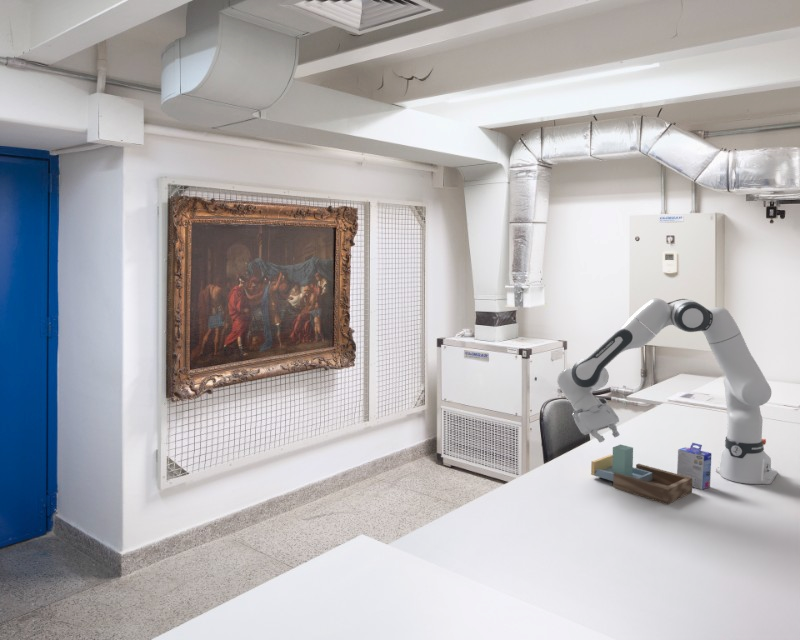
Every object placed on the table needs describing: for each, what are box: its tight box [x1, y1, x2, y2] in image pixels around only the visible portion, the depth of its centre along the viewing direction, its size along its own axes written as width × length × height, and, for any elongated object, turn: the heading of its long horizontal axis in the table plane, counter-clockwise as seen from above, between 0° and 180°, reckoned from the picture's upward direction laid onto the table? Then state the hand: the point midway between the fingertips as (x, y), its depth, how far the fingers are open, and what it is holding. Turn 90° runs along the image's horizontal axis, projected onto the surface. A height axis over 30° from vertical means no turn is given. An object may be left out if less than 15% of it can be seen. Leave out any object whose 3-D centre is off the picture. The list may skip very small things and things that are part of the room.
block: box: [612, 444, 634, 476], centre depth 232 cm, size 5×5×10 cm
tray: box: [590, 454, 653, 482], centre depth 232 cm, size 12×17×5 cm
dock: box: [612, 463, 693, 505], centre depth 223 cm, size 16×20×5 cm
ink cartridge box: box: [676, 442, 712, 490], centre depth 227 cm, size 10×6×14 cm, turn 37°
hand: (610, 438), depth 235 cm, fingers open, 8 cm apart
